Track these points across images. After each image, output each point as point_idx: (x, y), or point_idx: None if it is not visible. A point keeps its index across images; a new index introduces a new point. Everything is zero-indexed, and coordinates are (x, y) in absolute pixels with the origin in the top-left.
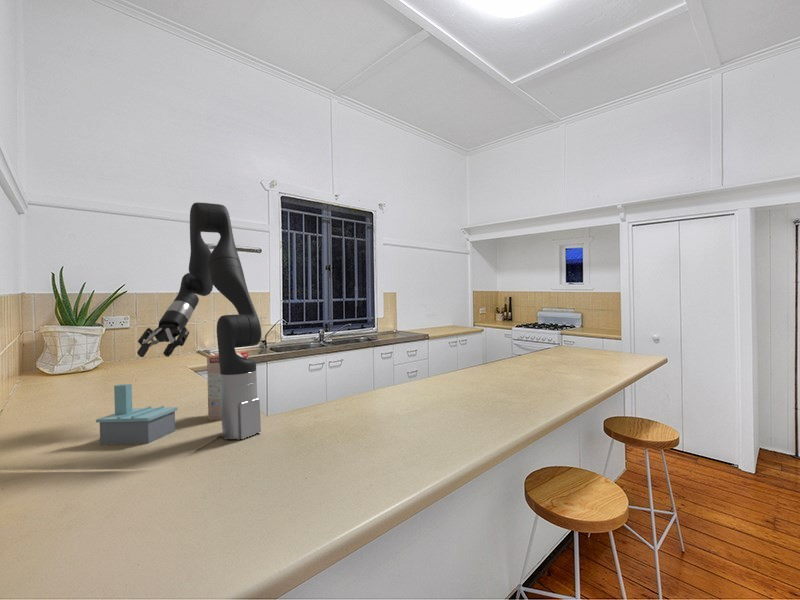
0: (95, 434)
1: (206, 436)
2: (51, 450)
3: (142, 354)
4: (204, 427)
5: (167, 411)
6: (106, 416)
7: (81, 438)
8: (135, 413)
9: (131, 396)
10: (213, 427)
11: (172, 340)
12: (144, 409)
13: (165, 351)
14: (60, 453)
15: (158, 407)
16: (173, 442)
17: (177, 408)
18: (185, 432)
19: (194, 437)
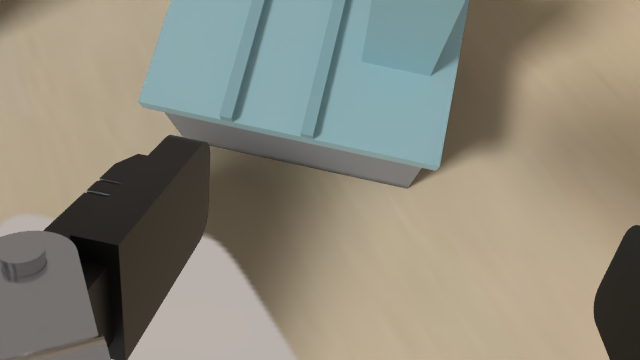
0: (603, 240)
1: (24, 51)
2: (621, 49)
3: (613, 289)
4: (73, 195)
5: (162, 29)
6: (459, 13)
7: (625, 189)
8: (325, 28)
9: (370, 11)
10: (27, 181)
11: (1, 280)
12: (312, 86)
13: (169, 139)
14: (546, 3)
15: (234, 82)
16: (140, 12)
17: (140, 103)
18: (141, 138)
19: (73, 52)
